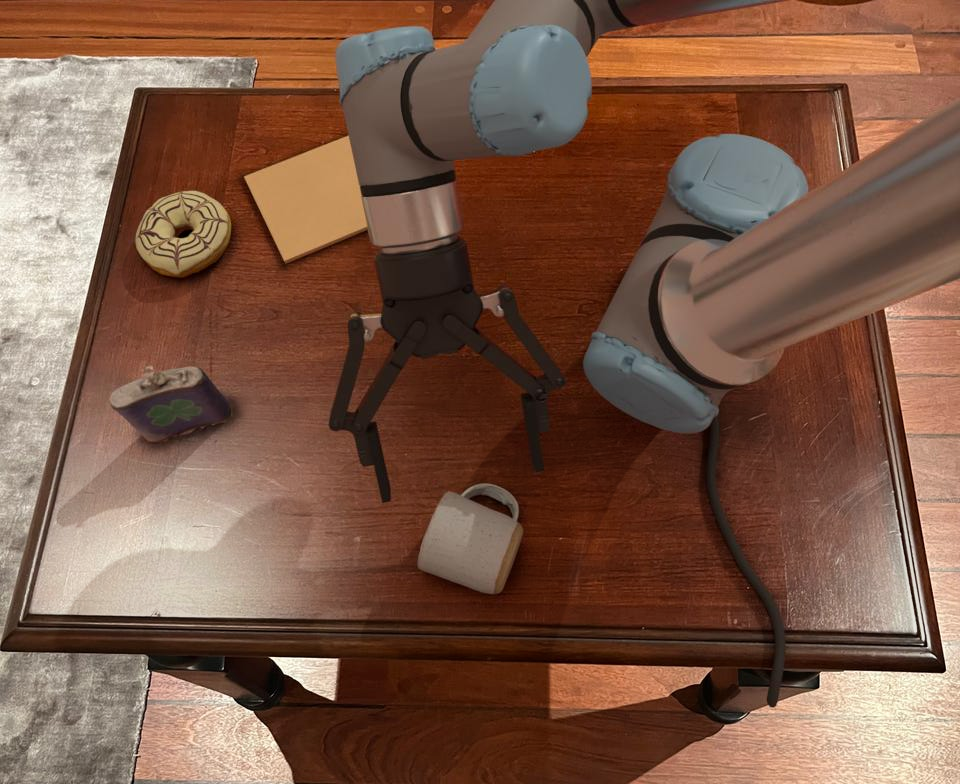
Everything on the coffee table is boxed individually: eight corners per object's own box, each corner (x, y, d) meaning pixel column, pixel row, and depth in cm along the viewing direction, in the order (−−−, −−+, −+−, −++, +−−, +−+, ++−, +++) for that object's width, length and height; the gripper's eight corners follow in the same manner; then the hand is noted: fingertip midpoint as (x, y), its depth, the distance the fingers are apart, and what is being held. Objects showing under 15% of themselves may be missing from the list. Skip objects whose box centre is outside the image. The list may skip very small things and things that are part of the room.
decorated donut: (125, 252, 93) (110, 232, 90) (191, 193, 97) (180, 172, 93) (187, 297, 90) (174, 278, 87) (253, 234, 94) (243, 214, 90)
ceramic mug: (500, 606, 74) (501, 588, 67) (419, 577, 76) (411, 556, 69) (536, 504, 79) (540, 477, 72) (458, 478, 80) (455, 448, 73)
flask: (147, 447, 82) (100, 403, 73) (143, 422, 84) (96, 376, 74) (235, 420, 83) (200, 373, 74) (230, 396, 85) (194, 347, 75)
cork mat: (396, 218, 94) (395, 214, 94) (285, 264, 92) (284, 261, 91) (350, 138, 100) (349, 134, 99) (245, 179, 97) (243, 176, 97)
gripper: (561, 210, 68) (588, 437, 75) (268, 262, 66) (325, 489, 73) (582, 221, 61) (610, 470, 68) (255, 279, 59) (319, 528, 66)
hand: (462, 480), depth 71 cm, fingers open, 13 cm apart
